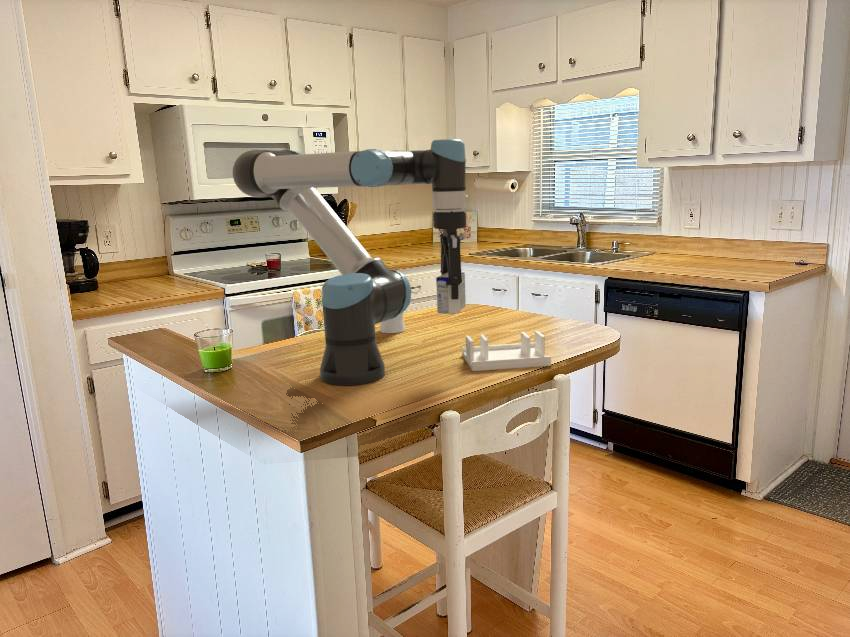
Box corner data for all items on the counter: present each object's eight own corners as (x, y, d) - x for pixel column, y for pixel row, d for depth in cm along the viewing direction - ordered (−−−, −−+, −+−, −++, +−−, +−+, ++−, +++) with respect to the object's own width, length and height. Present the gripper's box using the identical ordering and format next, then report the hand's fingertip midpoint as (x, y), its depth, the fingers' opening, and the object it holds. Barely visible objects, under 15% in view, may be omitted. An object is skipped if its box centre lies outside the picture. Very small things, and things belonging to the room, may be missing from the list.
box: (447, 306, 153) (447, 271, 151) (465, 307, 151) (465, 271, 149) (436, 313, 146) (435, 276, 144) (455, 314, 144) (454, 277, 142)
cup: (416, 328, 194) (414, 279, 191) (396, 336, 186) (394, 285, 182) (388, 325, 200) (386, 278, 197) (367, 332, 191) (364, 283, 188)
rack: (472, 371, 150) (471, 345, 148) (462, 355, 163) (461, 331, 162) (550, 365, 152) (551, 340, 150) (534, 350, 165) (534, 327, 164)
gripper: (474, 212, 133) (475, 317, 138) (458, 207, 154) (459, 299, 159) (439, 213, 133) (441, 319, 138) (427, 208, 153) (429, 300, 158)
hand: (451, 308), depth 148 cm, fingers closed on box, 9 cm apart
